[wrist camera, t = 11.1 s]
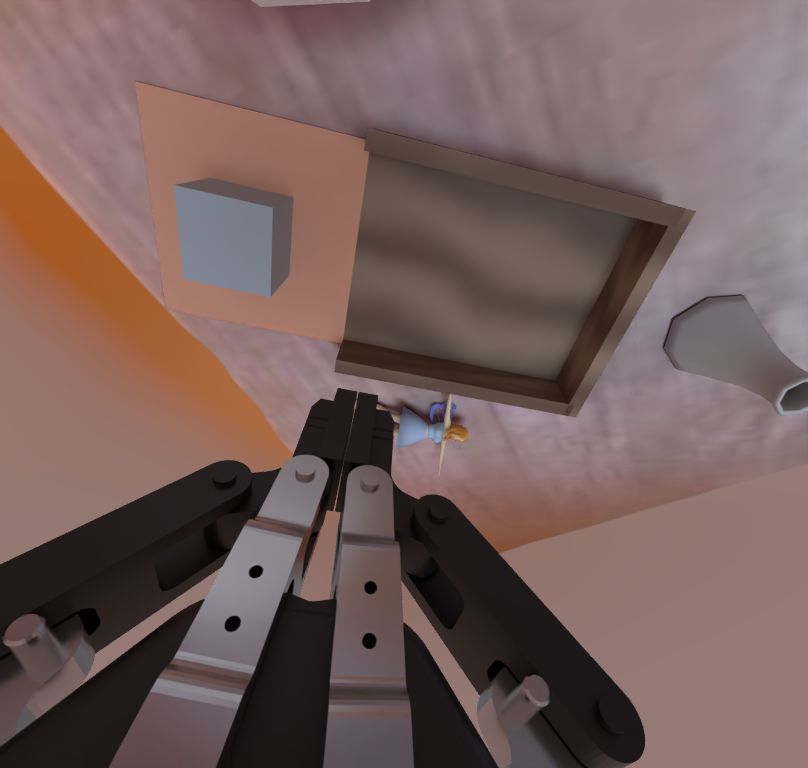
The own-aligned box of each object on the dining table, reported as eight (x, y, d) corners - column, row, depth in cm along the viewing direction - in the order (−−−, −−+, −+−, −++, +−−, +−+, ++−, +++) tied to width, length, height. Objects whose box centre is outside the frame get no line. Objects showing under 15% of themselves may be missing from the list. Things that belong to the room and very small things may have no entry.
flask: (664, 378, 36) (740, 450, 28) (659, 312, 33) (744, 372, 25) (749, 352, 35) (856, 420, 26) (754, 280, 31) (880, 333, 23)
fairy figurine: (341, 384, 34) (478, 400, 33) (354, 358, 38) (476, 372, 37) (345, 475, 40) (460, 492, 39) (355, 445, 44) (460, 459, 43)
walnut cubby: (372, 128, 26) (367, 127, 23) (661, 202, 28) (695, 211, 25) (341, 349, 35) (334, 371, 32) (560, 392, 38) (575, 417, 34)
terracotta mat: (136, 81, 25) (134, 81, 25) (371, 140, 26) (370, 140, 26) (167, 308, 33) (165, 309, 33) (342, 343, 35) (342, 344, 35)
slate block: (209, 177, 28) (173, 184, 23) (293, 197, 28) (272, 207, 24) (214, 259, 31) (183, 279, 27) (289, 275, 31) (270, 297, 27)
